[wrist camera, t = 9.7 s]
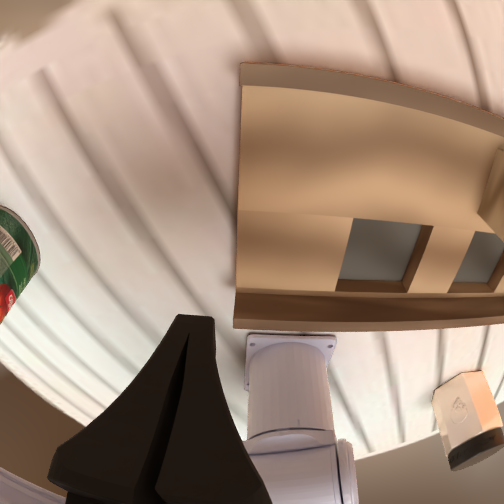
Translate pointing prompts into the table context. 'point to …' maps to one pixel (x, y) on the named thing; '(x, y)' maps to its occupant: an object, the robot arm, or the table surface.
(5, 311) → the canned tomato
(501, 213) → the maple block
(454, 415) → the jar
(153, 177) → the table surface
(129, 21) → the table surface
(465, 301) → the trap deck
